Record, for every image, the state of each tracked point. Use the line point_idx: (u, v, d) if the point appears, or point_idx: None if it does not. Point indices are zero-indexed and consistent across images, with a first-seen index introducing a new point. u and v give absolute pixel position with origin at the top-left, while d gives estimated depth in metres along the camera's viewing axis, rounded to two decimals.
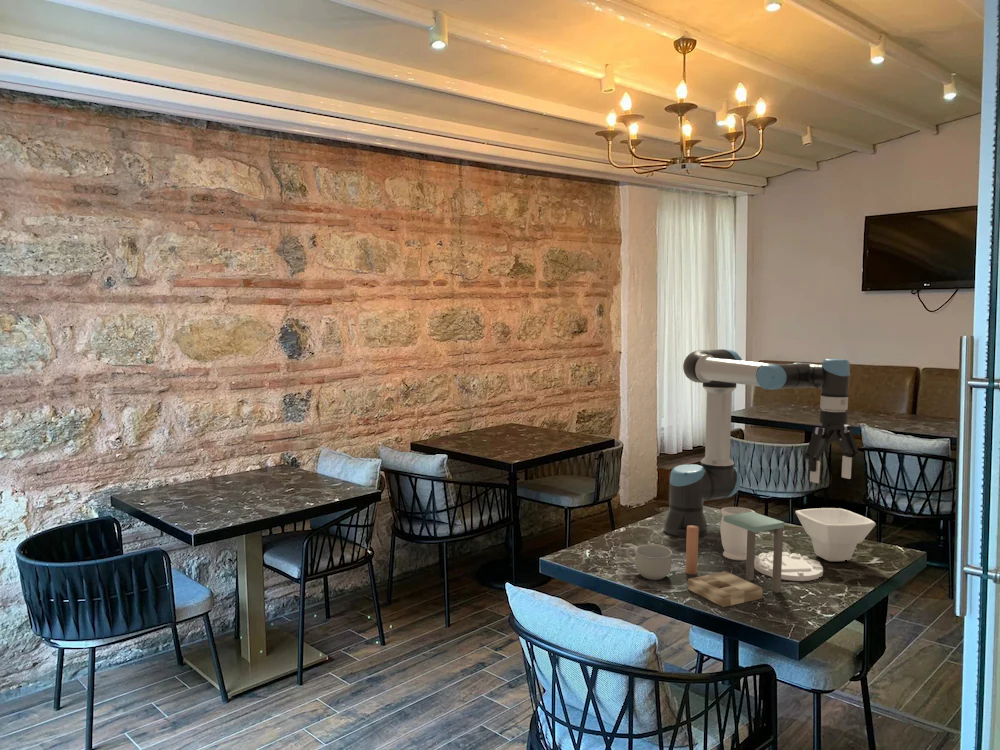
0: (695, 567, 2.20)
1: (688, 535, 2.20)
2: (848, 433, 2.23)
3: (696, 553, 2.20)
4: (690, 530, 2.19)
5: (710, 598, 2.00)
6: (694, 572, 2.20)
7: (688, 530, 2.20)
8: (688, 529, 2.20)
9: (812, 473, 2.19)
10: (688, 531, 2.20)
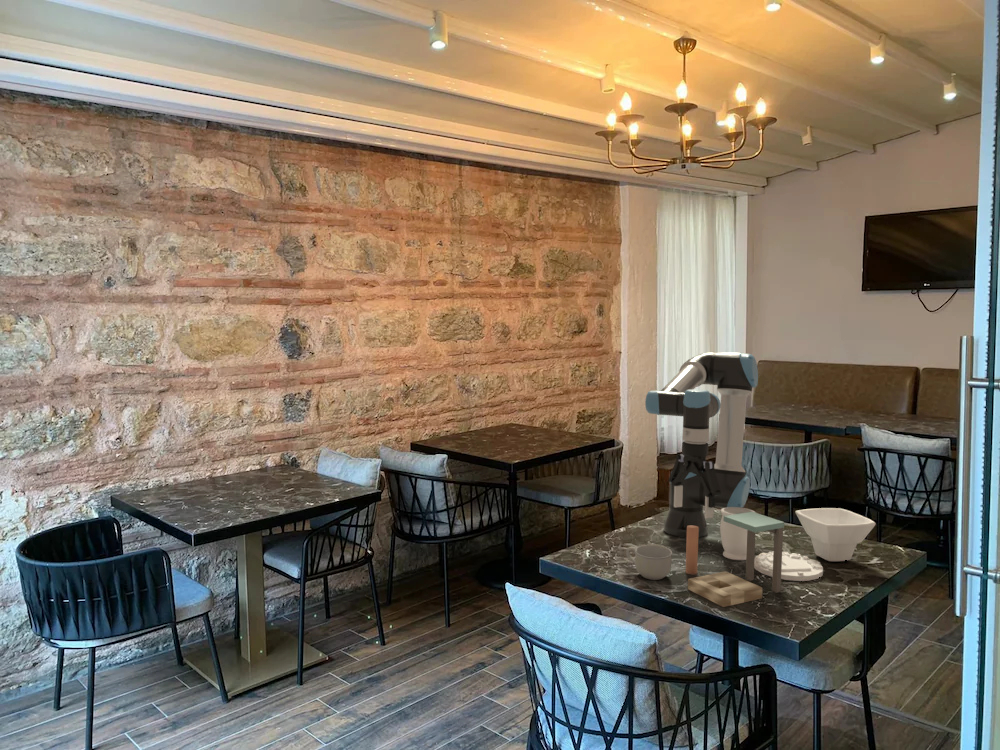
0: (695, 567, 2.20)
1: (688, 535, 2.20)
2: None
3: (696, 553, 2.20)
4: (690, 530, 2.19)
5: (710, 598, 2.00)
6: (694, 572, 2.20)
7: (688, 530, 2.20)
8: (688, 529, 2.20)
9: None
10: (688, 531, 2.20)
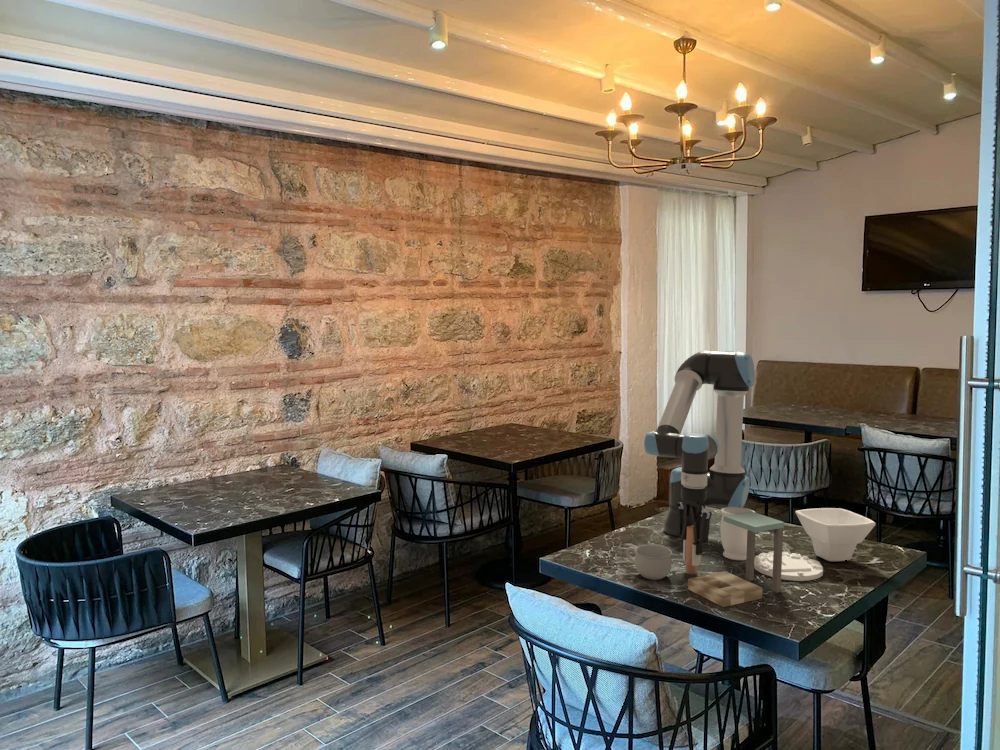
0: (695, 567, 2.20)
1: (688, 535, 2.20)
2: None
3: None
4: (690, 530, 2.19)
5: (710, 598, 2.00)
6: (694, 572, 2.20)
7: (688, 530, 2.20)
8: (688, 529, 2.20)
9: None
10: (688, 531, 2.20)
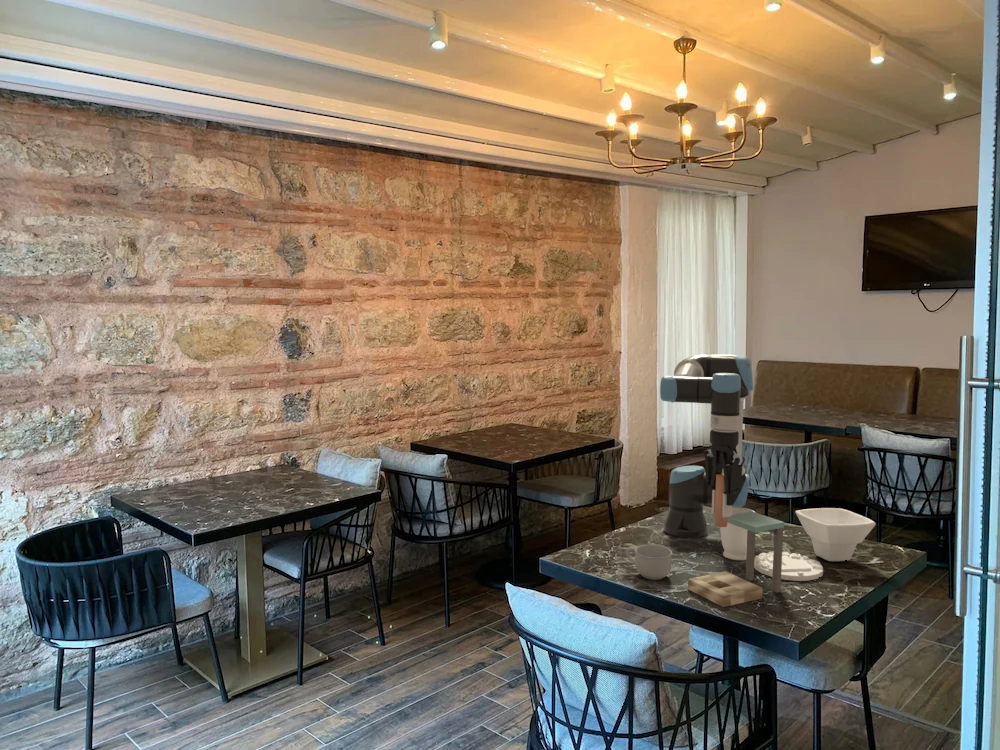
0: (725, 519, 2.01)
1: (718, 483, 2.00)
2: None
3: None
4: (720, 478, 2.00)
5: (710, 598, 2.00)
6: (724, 524, 2.01)
7: (718, 478, 2.00)
8: (718, 477, 2.00)
9: None
10: (718, 479, 2.00)
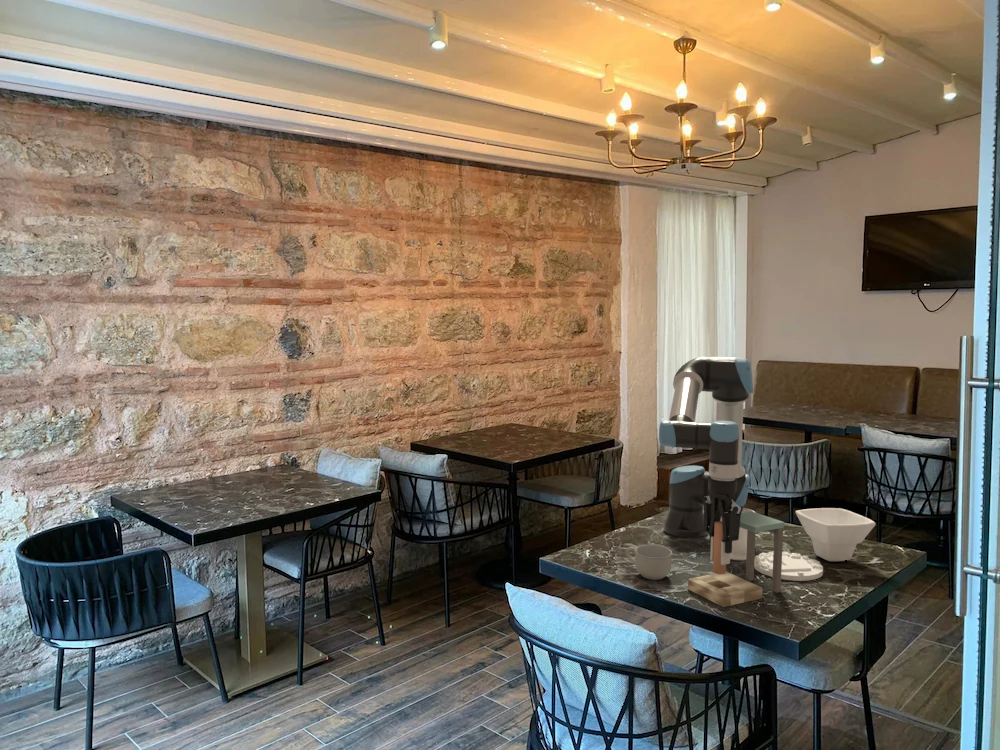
0: (724, 566, 2.02)
1: (716, 531, 2.01)
2: None
3: None
4: (718, 525, 2.01)
5: (710, 598, 2.00)
6: (722, 572, 2.02)
7: (716, 526, 2.02)
8: (716, 525, 2.02)
9: None
10: (716, 527, 2.02)
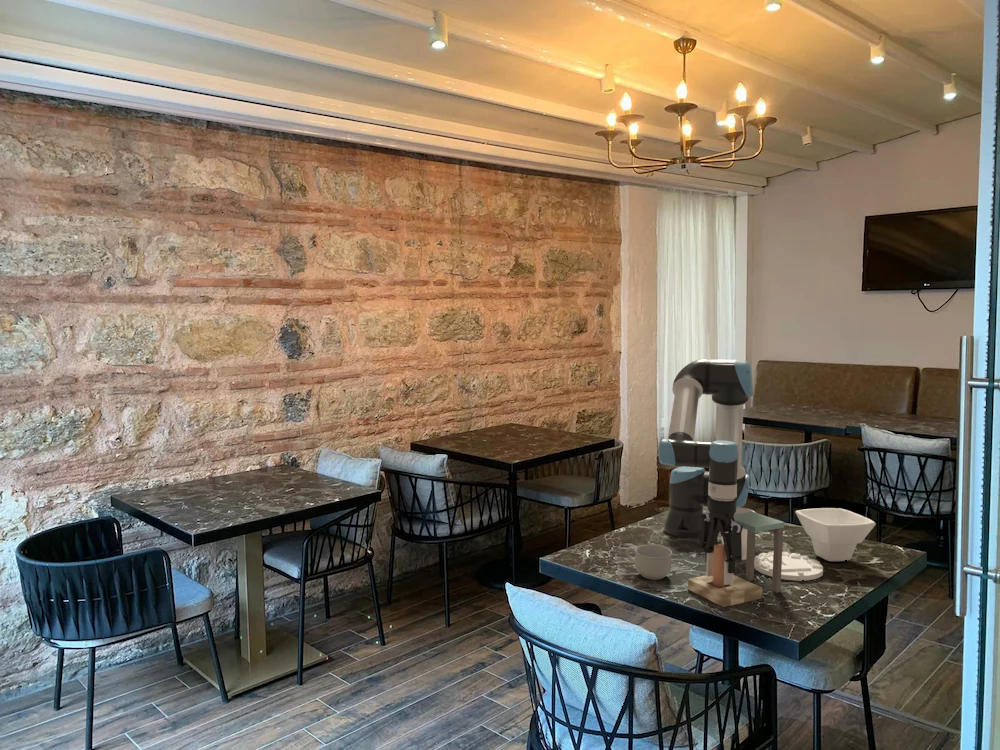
0: None
1: (716, 554, 2.02)
2: None
3: None
4: (718, 549, 2.01)
5: (710, 598, 2.00)
6: None
7: (715, 549, 2.02)
8: (715, 548, 2.02)
9: None
10: (715, 550, 2.02)
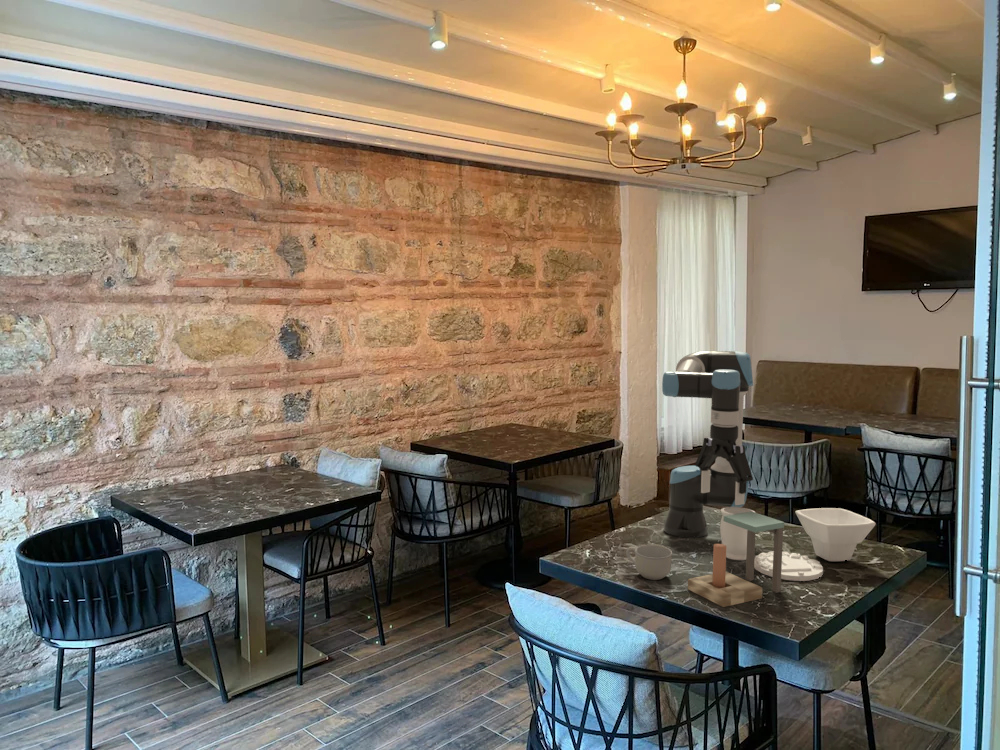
0: None
1: (715, 554, 2.02)
2: None
3: (724, 574, 2.02)
4: (717, 549, 2.02)
5: (710, 598, 2.00)
6: None
7: (715, 549, 2.02)
8: (715, 548, 2.02)
9: None
10: (715, 550, 2.02)
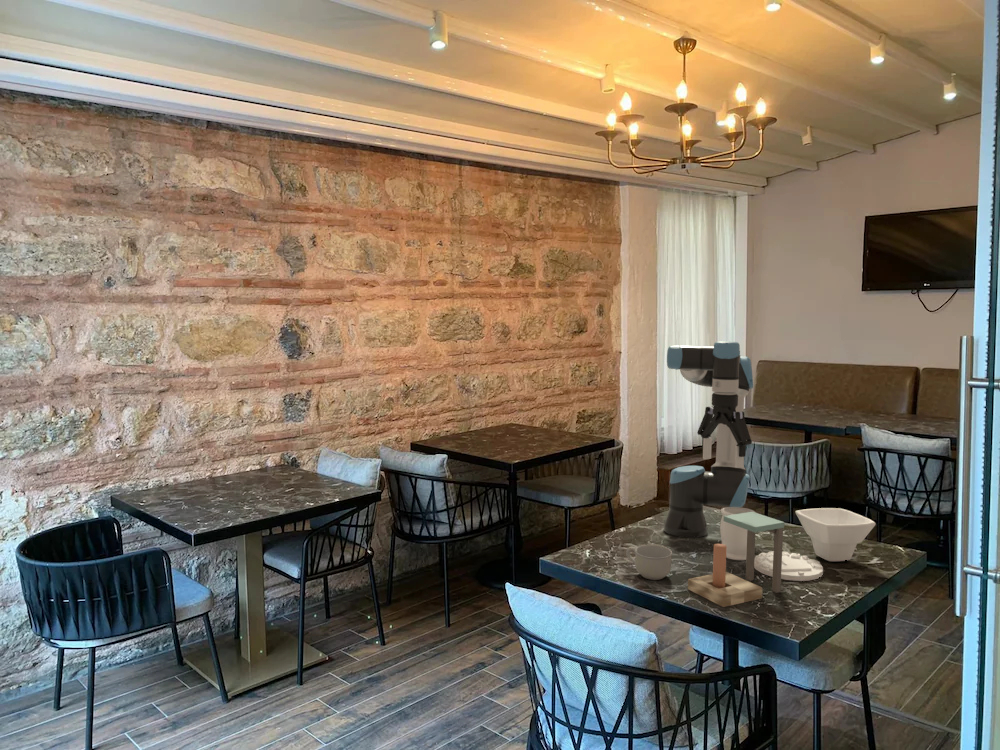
0: None
1: (715, 554, 2.02)
2: None
3: (724, 574, 2.02)
4: (718, 549, 2.02)
5: (710, 598, 2.00)
6: None
7: (715, 549, 2.02)
8: (715, 548, 2.02)
9: None
10: (715, 550, 2.02)
